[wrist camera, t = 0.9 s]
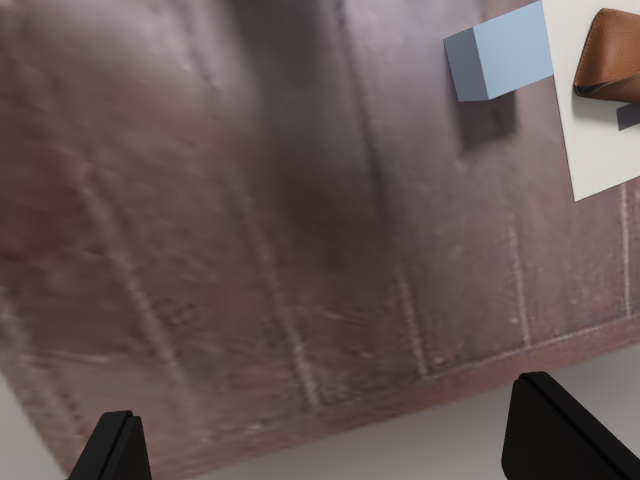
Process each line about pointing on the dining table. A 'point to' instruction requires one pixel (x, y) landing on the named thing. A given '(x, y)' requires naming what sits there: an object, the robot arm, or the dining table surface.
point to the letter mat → (590, 103)
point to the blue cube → (500, 54)
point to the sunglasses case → (611, 58)
